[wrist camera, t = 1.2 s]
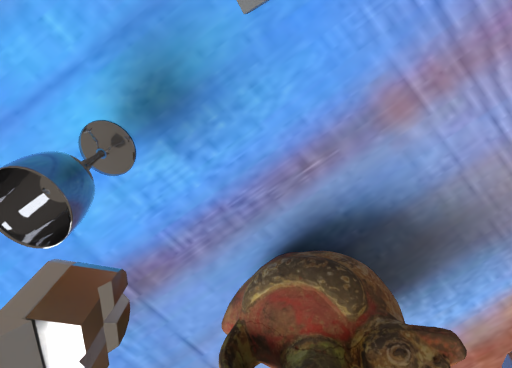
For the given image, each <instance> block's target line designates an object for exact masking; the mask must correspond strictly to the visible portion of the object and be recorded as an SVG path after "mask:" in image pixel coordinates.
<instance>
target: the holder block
mask: <svg viewBox="0 0 512 368" xmlns="http://www.w3.org/2000/svg"><path fill="white" fill-rule="evenodd" d="M267 1H269V0H237V2H238V4H239V6H240V7H241V9H242V11H243V13H244V14H248V13H249V12H251V11H253V10H254V9H256V8H257V7H259V6H261V5H262V4H264V3H265V2H267Z"/></svg>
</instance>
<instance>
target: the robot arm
mask: <svg viewBox="0 0 512 368" xmlns="http://www.w3.org/2000/svg"><path fill="white" fill-rule="evenodd" d="M127 285H128V282H127V274H126V272H125V271H124V270H123V269H118V268H112V267H105V266H99V265H93V264H87V263H81V262H77V263H76V262H71V261H65V260H59V259H54V260H51V261H48V262H47V263H46V264H45V265H44V266H43V267H42V268H41V269H40V270H39V271H38V272H37V273H36V274H35V275H34V276H33V277H32V278H31V279H30V280H29V281H28V282H27V283H26V284H25V285H24V286H23V287H22V288H21V289H20V290H19V291H18V293H17V294H16V295H15V296H14V297H13V298H12V299H11V300H10V301H9V302H8V303H7V304H6V305H5V306H4V307H3V308H2V309H1V310H0V368H107V367H108V366H109V360H108V353H109V352H110V351H112V350H113V349H115V348H116V347H118V346H119V345H120V343H121V341H122V339H123V337H124V335H125V332H126V328H127V325H128V322H129V315H130V302H129V299H128V298H127V297H126V296H125V295H124V294H123V292H124V290H125V288H126V287H127ZM502 368H512V352H510V353H508V354H507V356H506V358H505V360H504V362H503V365H502Z"/></svg>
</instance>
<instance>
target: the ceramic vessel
mask: <svg viewBox="0 0 512 368" xmlns="http://www.w3.org/2000/svg"><path fill="white" fill-rule="evenodd" d="M222 329H223V331H224V332H225V333H226V334H227V337H226V338H225V341H224V343H223V345H222V347H221V350H220V354H219V368H254V367H255V366H257V365H258V364H260V363H263V364H265V365H267V366H269V367H271V368H450V367H451V366H453V365H455V364H457V363H458V362H460V361H462V360H463V359H465V357H466V348H465V346H464V345H463V343H462V342H461V340H460V339H459V338H458V336H457V335H456V334H455V333H453V332H452V331H451V330H447V329H443V328H437V327H427V326H418V325H408V324H405V321H404V318H403V315H402V312H401V309H400V307H399V305H398V303H397V301H396V299H395V298H394V296H393V294H392V293H391V292H390V290H389V289H388V288H387V286H386V285H385V284H384V283H383V282H382V280H381V279H380V278H379V277H378V276H377V275H376V274H375V273H374V272H373V271H372V270H371V269H370V268H369V267H368V266H366V265H365V264H363V263H361V262H360V261H358V260H356V259H354V258H351V257H349V256H346V255H343V254H340V253H336V252H331V251H307V252H291V253H286V254H283V255H280V256H278V257H276V258H274V259H273V260H271V261H270V262H268V263H267V264H265V265H264V266H262V267H261V268H260V269H259V270H258V271H257V272H256V273H255V274H254V275H253V276H252V277H251V278H249V279H248V280H247V281H246V282H245V283H244V285H243V286H242V287H241V288H240V289H239V290H238V292H237V293H236V295H235V296H234V297H233V299H232V301H231V302H230V304H229V306H228V308H227V311H226V313H225V315H224V318H223V321H222Z"/></svg>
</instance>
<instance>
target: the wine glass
mask: <svg viewBox="0 0 512 368" xmlns="http://www.w3.org/2000/svg"><path fill="white" fill-rule="evenodd" d="M79 149H80V153H81V155H82V157H83V158H84V160H83V161H80V160H78V159H77V158H75V157H73V156H71V155H69V154H66V153H62V152H42V153H36V154H32V155H29V156H25V157H22V158H20V159H17V160H15V161H13V162H11V163H9V164H6V165H4V166H3V167H1V168H0V232H1V233H3V234H4V235H5V236H6V237H8V238H10V239H11V240H13V241H15V242H17V243H19V244H21V245H24V246H27V247H32V248H49V247H53V246H56V245H57V244H59V243H61V242H62V241H63V240H64V239H65V238H66V237H68V236H69V235H70V234H71V233H72V232H73V231H74V229H75V228H76V227H77V226H78V225H79V224H80V223H81V221H82V220H83V218H84V217H85V215H86V213H87V212H88V210H89V208H90V206H91V204H92V201H93V198H94V194H95V185H94V181H93V177H92V175H91V173H90V171H89V170H90V168H93V169H94V170H95V171H97V172H99V173H101V174H104V175H109V176H117V175H121V174H124V173H126V172H127V171H129V170H130V169H131V167H132V166H133V164H134V162H135V157H136V151H135V146H134V143H133V141H132V139H131V137H130V136H129V135H128V133H127V132H126V131H125V130H124V129H122V128H121V127H120V126H118V125H116V124H114V123H112V122H109V121H94V122H91V123H89V124H88V125H86V126H85V127H84V128H83V129H82V131H81V133H80V136H79Z"/></svg>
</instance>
